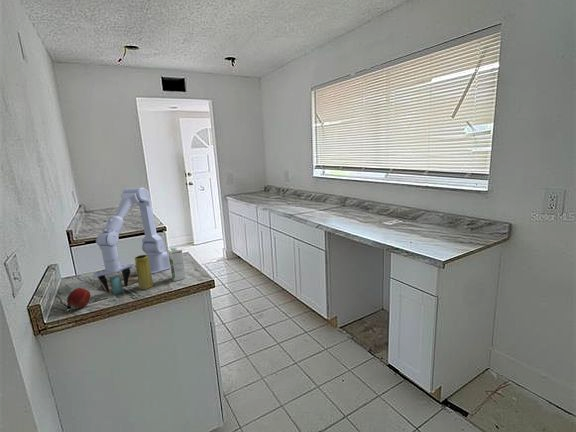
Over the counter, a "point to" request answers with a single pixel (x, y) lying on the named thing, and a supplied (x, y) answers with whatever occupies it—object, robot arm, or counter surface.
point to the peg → (116, 284)
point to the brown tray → (131, 280)
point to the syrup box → (176, 263)
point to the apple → (79, 298)
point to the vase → (143, 272)
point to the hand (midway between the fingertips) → (117, 288)
